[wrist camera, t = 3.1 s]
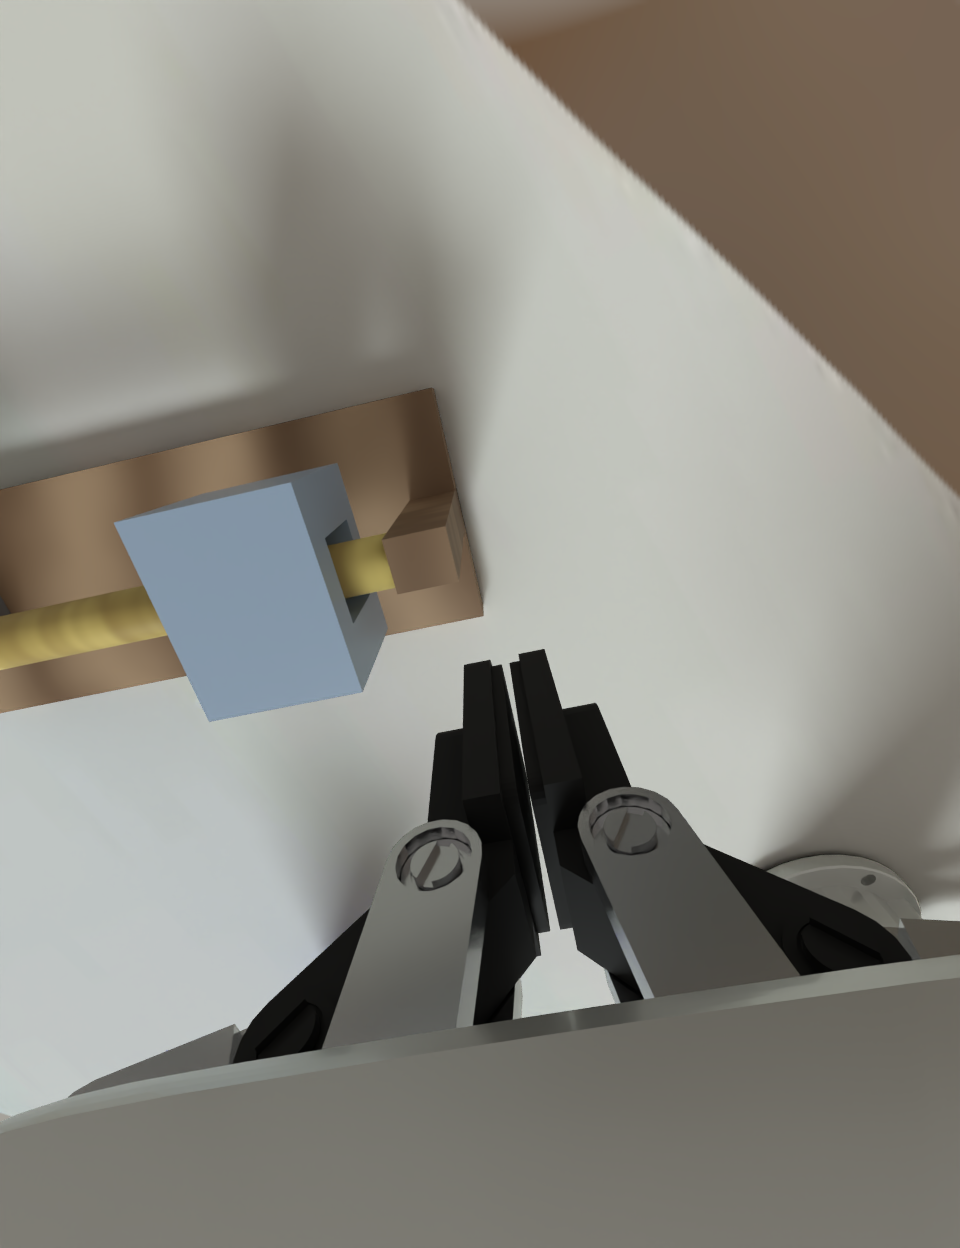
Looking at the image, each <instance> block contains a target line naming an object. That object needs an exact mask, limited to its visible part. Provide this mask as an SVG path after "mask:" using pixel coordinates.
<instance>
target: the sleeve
mask: <svg viewBox="0 0 960 1248" xmlns="http://www.w3.org/2000/svg"><path fill="white" fill-rule="evenodd" d="M114 525H115V527H116V529H117V531H118V533H119V535H120V537H121V539H122V541H123V544H124V546H125V548H126V550H127V552H128V554H129V556H130V558H131V560H132V562H133V564H134V566H135V569H136V571H137V573H138V575H139V577H140V579H141V581H142V583H143V585H144V587H145V589H146V591H147V593H148V596H149V598H150V600H151V602H152V604H153V606H154V608H155V610H156V612H157V614H158V616H159V618H160V621H161V623H162V625H163V627H164V629H165V631H166V633H167V635H168V637H169V639H170V641H171V643H172V646H173V648H174V650H175V652H176V654H177V656H178V658H179V660H180V662H181V664H182V666H183V668H184V670H185V673H186V675H187V677H188V679H189V681H190V683H191V685H192V687H193V689H194V691H195V693H196V695H197V698H198V700H199V702H200V704H201V706H202V708H203V710H204V712H205V714H206V716H207V718H208V720H209V722H211V721H216V720H221V719H226V718H231V717H236V716H242V715H247V714H252V713H257V712H262V711H267V710H273V709H278V708H283V707H288V706H293V705H299V704H304V703H309V702H314V701H319V700H324V699H330V698H335V697H340V696H345V695H350V694H355V693H361V692H363V690H364V687H365V685H366V682H367V680H368V677H369V675H370V672H371V670H372V667H373V665H374V662H375V660H376V657H377V655H378V652H379V650H380V647H381V645H382V642H383V640H384V637H385V635H386V632H387V630H388V627H387V624H386V620H385V617H384V614H383V611H382V607H381V604H380V601H379V597H378V594H377V592H373V593H369V594H364V595H359V596H354V597H349V598H345V597H344V594H343V591H342V588H341V585H340V582H339V579H338V576H337V573H336V570H335V567H334V564H333V561H332V558H331V555H330V552H329V549H328V545H332V544H337V543H342V542H346V541H351V540H356V539H360V535H359V532H358V529H357V525H356V522H355V519H354V516H353V512H352V509H351V506H350V503H349V499H348V496H347V493H346V489H345V486H344V483H343V480H342V476H341V473H340V470H339V466H338V463H335V464H330V465H326V466H322V467H317V468H313V469H309V470H304V471H300V472H295V473H291V474H287V475H282V476H278V477H274V478H269V479H265V480H260V481H256V482H252V483H247V484H243V485H239V486H234V487H230V488H225V489H221V490H217V491H212V492H208V493H204V494H200V495H197V496H194V497H191V498H188V499H185V500H182V501H179V502H176V503H173V504H169V505H166V506H163V507H160V508H157V509H154V510H151V511H148V512H145V513H142V514H139V515H136V516H133V517H130V518H126V519H123V520H120V521H117V522H114Z"/></svg>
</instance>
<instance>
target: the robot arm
mask: <svg viewBox="0 0 960 1248" xmlns="http://www.w3.org/2000/svg"><path fill="white" fill-rule="evenodd" d="M519 660H520V661H517V662H512V663H510V669H511V676H512V682H513V689H514V695H515V702H516V709H517V715H518V722H519V728H520V735H521V742H522V748H523V755H524V761H525V766H524V762H523V757H522V753H521V748H520V744H519V739H518V735H517V730H516V726H515V722H514V717H513V713H512V708H511V704H510V699H509V695H508V690H507V686H506V681H505V677H504V672H503V668H502V665H497V666H492V664H491V661H490V660H487V661H482V662H477V663H472V664H467V665H464V698H463V728H462V729H457V730H451V731H446V732H441V733H438V734H437V735H436V739H435V750H434V760H433V771H432V782H431V792H430V803H429V813H428V823H426V824H423V825H421V826H419V827H416V828H414V829H413V830H412V831H410V832H409V833H407V834H406V835H404V836H403V837H402V838H401V839H400V840H399V842H398V843H397V844H396V845H395V846H394V847H393V849H392V851H391V853H390V855H389V856H388V858H387V861H386V864H385V867H384V869H383V872H382V875H381V878H380V881H379V884H378V887H377V890H376V893H375V896H374V899H373V902H372V904H371V907H370V909H369V910H367V911H366V912H365V913H364V914H363V915H362V916H361V917H360V918H359V919H358V920H357V921H356V922H355V923H354V924H352V925H351V926H350V927H349V928H348V929H347V930H346V931H345V932H344V933H343V934H342V935H341V936H340V937H338V938H337V939H336V940H335V941H334V942H333V943H332V944H331V945H330V946H329V947H328V948H327V949H326V950H325V951H323V952H322V953H321V954H320V955H319V956H318V957H317V958H316V959H315V960H314V961H313V962H312V963H311V964H309V965H308V966H307V967H306V968H305V969H304V970H303V971H302V972H301V973H300V974H299V975H298V976H297V977H295V978H294V979H293V980H292V981H291V982H290V983H289V984H288V985H287V986H286V987H285V988H284V989H283V990H282V991H280V992H279V993H278V994H277V995H276V996H275V997H274V998H273V999H272V1000H271V1001H270V1002H269V1003H268V1004H267V1005H266V1006H265V1007H264V1008H263V1009H262V1010H261V1011H260V1012H259V1014H258V1015H257V1016H256V1017H255V1018H254V1019H253V1020H252V1022H251V1024H250V1025H249V1027H248V1028H247V1029H244V1030H242V1031H239V1029H238V1028H237V1026H236V1025H235V1024H233V1025H231V1026H228V1027H226V1028H223V1029H221V1030H218V1031H216V1032H213V1033H211V1034H208V1035H206V1036H203V1037H201V1038H198V1039H196V1040H193V1041H191V1042H188V1043H186V1044H183V1045H181V1046H178V1047H176V1048H173V1049H171V1050H168V1051H166V1052H164V1053H161V1054H159V1055H156V1056H154V1057H151V1058H149V1059H146V1060H144V1061H141V1062H139V1063H136V1064H134V1065H131V1066H129V1067H126V1068H124V1069H121V1070H119V1071H116V1072H114V1073H111V1074H109V1075H106V1076H104V1077H101V1078H99V1079H96V1080H94V1081H92V1082H91V1083H89V1084H87V1085H85V1086H84V1087H82V1088H80V1089H78V1090H77V1091H75V1092H74V1093H72V1094H71V1095H70V1096H69V1097H68V1098H66V1099H63V1100H60V1101H57V1102H54V1103H51V1104H48V1105H45V1106H41V1107H38V1108H35V1109H32V1110H29V1111H26V1112H23V1113H20V1114H17V1115H15V1116H13V1117H10V1118H8V1119H6V1120H4V1121H1V1122H0V1248H960V921H944V920H924V919H922V918H921V908H920V905H919V903H918V900H917V898H916V896H915V895H914V893H913V892H912V891H911V890H910V889H909V887H908V886H907V885H906V884H905V883H904V881H903V880H902V879H901V878H900V877H899V876H898V875H896V874H895V873H894V872H893V871H892V870H891V869H889V868H887V867H885V866H884V865H882V864H880V863H878V862H875V861H872V860H869V859H866V858H862V857H856V856H849V855H819V856H812V857H806V858H800V859H797V860H794V861H790V862H787V863H783V864H781V865H778V866H776V867H774V868H772V869H769V870H767V871H764V870H762V869H760V868H757V867H755V866H753V865H750V864H748V863H746V862H743V861H741V860H739V859H736V858H734V857H732V856H730V855H727V854H725V853H723V852H720V851H718V850H716V849H713V848H711V847H709V846H706V845H704V844H703V843H702V841H701V840H700V839H699V837H698V836H697V835H696V833H695V832H694V831H693V829H692V828H691V827H690V825H689V824H688V823H687V821H686V820H685V818H684V817H683V816H682V814H681V813H680V812H679V810H678V809H677V808H676V807H675V806H674V805H673V804H672V803H671V802H670V801H669V800H668V799H667V798H665V797H663V796H661V795H660V794H658V793H656V792H654V791H650V790H647V789H643V788H639V787H631V785H630V783H629V780H628V778H627V775H626V773H625V770H624V768H623V766H622V763H621V761H620V758H619V756H618V753H617V751H616V749H615V746H614V744H613V741H612V739H611V736H610V734H609V732H608V729H607V727H606V724H605V722H604V720H603V717H602V715H601V712H600V710H599V708H598V706H597V704H596V703H592V704H587V705H582V706H577V707H571V708H566V709H562V707H561V704H560V700H559V697H558V694H557V690H556V687H555V683H554V680H553V677H552V673H551V670H550V667H549V663H548V660H547V656H546V653H545V650H544V649H542V650H537V651H532V652H527V653H522V654H519ZM525 768H526V771H525ZM526 774H527V776H526ZM527 780H528V781H527ZM528 786H529V787H528ZM529 791H530V794H529ZM530 796H531V801H532V806H533V810H534V815H535V819H536V824H537V828H538V833H539V837H540V841H541V846H542V850H543V855H544V859H545V864H546V868H547V873H548V877H549V881H550V886H551V890H552V895H553V899H554V904H555V908H556V913H557V917H558V921H559V926H560V930H561V929H567V928H573V931H574V936H575V940H576V945H577V950H578V951H580V952H581V953H583V954H584V955H586V956H587V957H589V958H590V959H591V960H593V961H594V962H596V963H597V964H599V965H600V966H602V967H603V968H604V971H605V975H606V979H607V983H608V986H609V988H610V991H611V994H612V996H613V999H614V1001H615V1004H611V1005H604V1006H598V1007H591V1008H585V1009H578V1010H572V1011H565V1012H558V1013H552V1014H545V1015H539V1016H532V1017H526V1018H521V1016H522V997H523V995H522V985H521V980H520V978H521V976H522V975H523V974H524V972H525V971H526V970H527V968H528V967H529V966H530V964H531V963H532V962H533V961H534V959H535V958H536V957H537V956H541V951H540V943H539V935H538V933H542V932H548V931H550V926H549V919H548V913H547V906H546V899H545V893H544V886H543V880H542V873H541V866H540V860H539V853H538V847H537V840H536V834H535V827H534V820H533V814H532V807H531V801H530Z"/></svg>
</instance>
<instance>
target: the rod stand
mask: <svg viewBox="0 0 960 1248" xmlns="http://www.w3.org/2000/svg"><path fill="white" fill-rule="evenodd" d="M335 463H338V466H339V470H340V473H341V476H342V480H343V483H344V486H345V489H346V493H347V496H348V499H349V503H350V506H351V509H352V512H353V516H354V519H355V522H356V525H357V529H358V532H359V535H360V539H356V540H351V541H346V542H342V543H337V544H332V545H328V549H329V552H330V555H331V558H332V561H333V564H334V567H335V570H336V573H337V576H338V579H339V582H340V585H341V588H342V591H343V594H344V597H345V598H349V597H354V596H359V595H364V594H369V593H373V592H377V594H378V597H379V601H380V604H381V607H382V611H383V614H384V617H385V620H386V624H387V627H388V630H387V632H386V635H385V636H387V635H391V634H396V633H401V632H406V631H411V630H416V629H421V628H426V627H431V626H436V625H441V624H446V623H451V622H456V621H461V620H466V619H471V618H476V617H481V616H484V614H483V603H482V599H481V595H480V590H479V586H478V581H477V577H476V573H475V568H474V564H473V559H472V555H471V551H470V546H469V542H468V537H467V533H466V528H465V524H464V520H463V515H462V511H461V506H460V502H459V498H458V493H457V489H456V484H455V480H454V476H453V471H452V467H451V462H450V458H449V454H448V449H447V445H446V440H445V436H444V432H443V427H442V423H441V418H440V414H439V410H438V405H437V401H436V396H435V392H434V388H428V389H424V390H420V391H415V392H411V393H407V394H403V395H398V396H394V397H390V398H386V399H381V400H377V401H373V402H369V403H365V404H360V405H356V406H352V407H348V408H343V409H339V410H335V411H331V412H327V413H322V414H318V415H314V416H310V417H305V418H301V419H297V420H293V421H288V422H284V423H280V424H276V425H272V426H267V427H263V428H259V429H255V430H250V431H246V432H242V433H238V434H234V435H229V436H225V437H221V438H217V439H212V440H208V441H204V442H200V443H196V444H191V445H187V446H183V447H179V448H174V449H170V450H166V451H162V452H157V453H153V454H149V455H145V456H141V457H136V458H132V459H128V460H124V461H119V462H115V463H111V464H107V465H103V466H98V467H94V468H90V469H86V470H81V471H77V472H73V473H69V474H65V475H60V476H56V477H52V478H48V479H43V480H39V481H35V482H31V483H26V484H22V485H18V486H14V487H10V488H5V489H1V490H0V713H4V712H9V711H14V710H19V709H24V708H29V707H33V706H38V705H43V704H48V703H53V702H58V701H63V700H68V699H73V698H78V697H83V696H88V695H93V694H98V693H103V692H108V691H113V690H118V689H123V688H128V687H133V686H138V685H143V684H148V683H153V682H158V681H163V680H168V679H173V678H178V677H183V676H187V675H186V673H185V670H184V668H183V666H182V664H181V662H180V660H179V658H178V656H177V654H176V652H175V650H174V648H173V646H172V643H171V641H170V639H169V637H168V635H167V633H166V631H165V629H164V627H163V625H162V623H161V621H160V618H159V616H158V614H157V612H156V610H155V608H154V606H153V604H152V602H151V600H150V598H149V596H148V593H147V591H146V589H145V587H144V585H143V583H142V581H141V579H140V577H139V575H138V573H137V571H136V569H135V566H134V564H133V562H132V560H131V558H130V556H129V554H128V552H127V550H126V548H125V546H124V544H123V541H122V539H121V537H120V535H119V533H118V531H117V529H116V527H115V525H114V522H117V521H120V520H123V519H126V518H130V517H133V516H136V515H139V514H142V513H145V512H148V511H151V510H154V509H157V508H160V507H163V506H166V505H169V504H173V503H176V502H179V501H182V500H185V499H188V498H191V497H194V496H197V495H200V494H204V493H208V492H212V491H217V490H221V489H225V488H230V487H234V486H239V485H243V484H247V483H252V482H256V481H260V480H265V479H269V478H274V477H278V476H282V475H287V474H291V473H295V472H300V471H304V470H309V469H313V468H317V467H322V466H326V465H330V464H335Z"/></svg>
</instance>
